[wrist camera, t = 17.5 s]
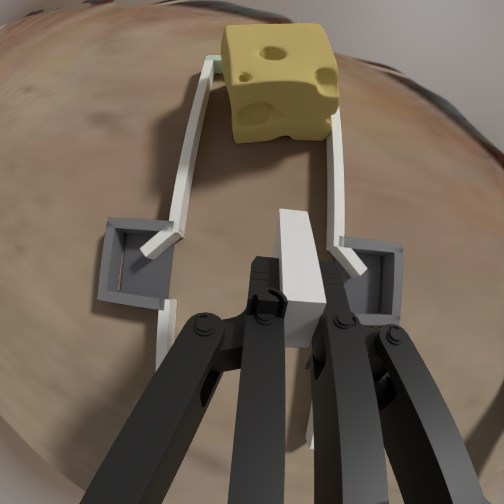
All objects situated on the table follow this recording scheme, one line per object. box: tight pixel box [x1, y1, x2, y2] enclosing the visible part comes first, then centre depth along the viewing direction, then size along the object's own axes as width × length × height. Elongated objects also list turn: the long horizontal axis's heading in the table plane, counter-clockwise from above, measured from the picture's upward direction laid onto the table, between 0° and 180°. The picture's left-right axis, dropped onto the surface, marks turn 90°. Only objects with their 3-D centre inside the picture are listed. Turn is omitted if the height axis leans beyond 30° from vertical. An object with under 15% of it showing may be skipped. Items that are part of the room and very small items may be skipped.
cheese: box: [221, 23, 340, 144], centre depth 24 cm, size 10×11×10 cm
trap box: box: [97, 55, 403, 449], centre depth 26 cm, size 29×43×2 cm
